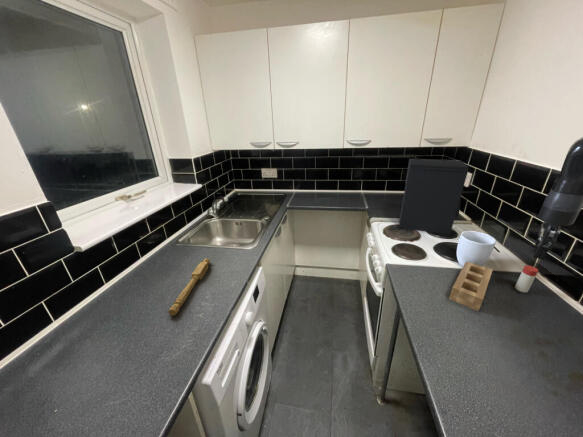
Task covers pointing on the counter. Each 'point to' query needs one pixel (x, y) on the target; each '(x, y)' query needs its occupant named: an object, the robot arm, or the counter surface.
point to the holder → (471, 285)
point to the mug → (474, 247)
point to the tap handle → (189, 286)
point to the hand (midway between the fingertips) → (538, 252)
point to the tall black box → (432, 195)
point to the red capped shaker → (526, 278)
